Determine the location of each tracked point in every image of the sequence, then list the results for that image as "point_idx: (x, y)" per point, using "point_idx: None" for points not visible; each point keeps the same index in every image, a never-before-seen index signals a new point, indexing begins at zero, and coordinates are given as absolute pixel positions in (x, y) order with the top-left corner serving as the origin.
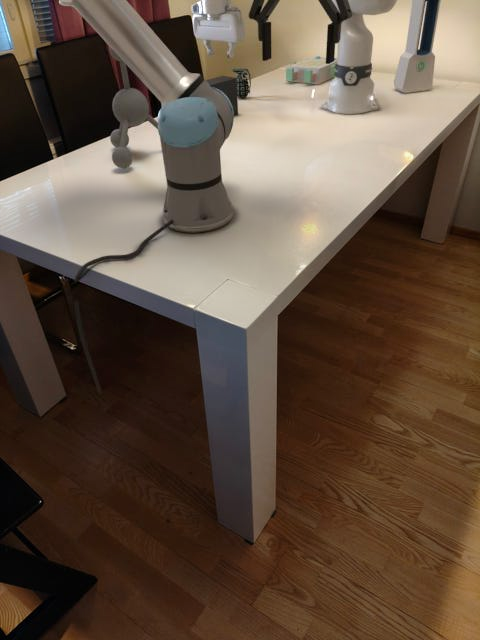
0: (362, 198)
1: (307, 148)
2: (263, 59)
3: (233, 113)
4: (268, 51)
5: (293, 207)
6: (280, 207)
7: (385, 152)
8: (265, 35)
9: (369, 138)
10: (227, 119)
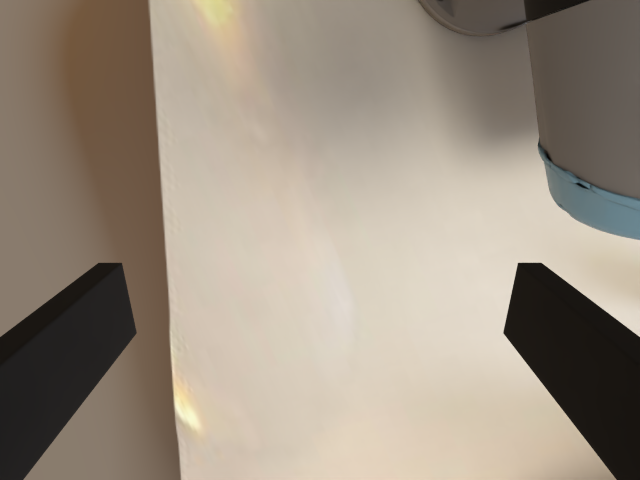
0: (179, 196)
1: (388, 392)
2: (537, 267)
3: (567, 203)
4: (534, 324)
5: (294, 94)
6: (321, 81)
7: (233, 416)
8: (623, 354)
9: (289, 468)
10: (563, 84)
